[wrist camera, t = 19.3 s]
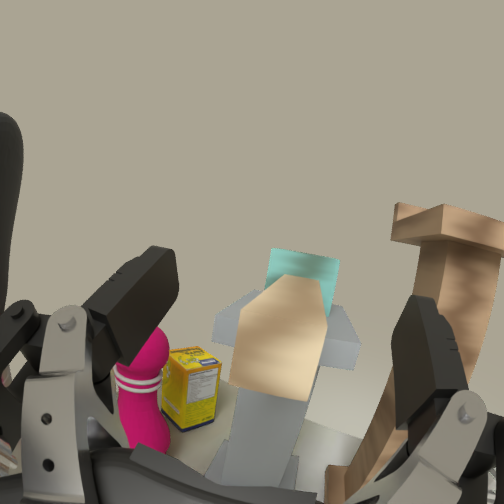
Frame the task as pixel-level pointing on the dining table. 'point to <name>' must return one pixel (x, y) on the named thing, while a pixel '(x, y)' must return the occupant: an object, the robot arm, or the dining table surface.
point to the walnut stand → (448, 304)
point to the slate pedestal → (272, 410)
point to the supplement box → (190, 387)
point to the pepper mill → (144, 394)
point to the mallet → (285, 326)
